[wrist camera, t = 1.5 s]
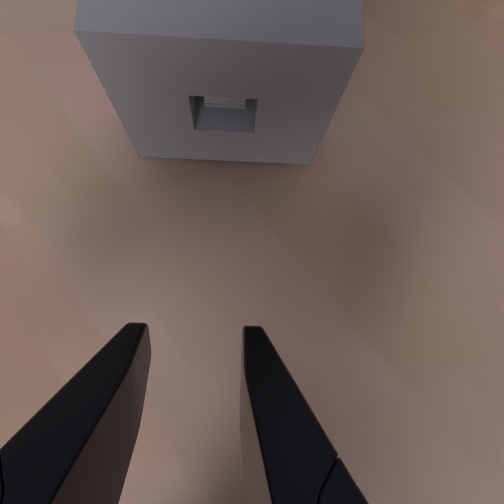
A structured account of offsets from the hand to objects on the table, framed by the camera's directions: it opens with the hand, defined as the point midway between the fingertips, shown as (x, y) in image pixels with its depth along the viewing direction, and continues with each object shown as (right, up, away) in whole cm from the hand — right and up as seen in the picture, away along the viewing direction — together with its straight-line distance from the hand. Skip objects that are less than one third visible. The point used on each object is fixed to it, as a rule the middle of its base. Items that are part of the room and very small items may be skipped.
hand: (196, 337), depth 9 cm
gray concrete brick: (0, +9, +16) cm, 18 cm away
